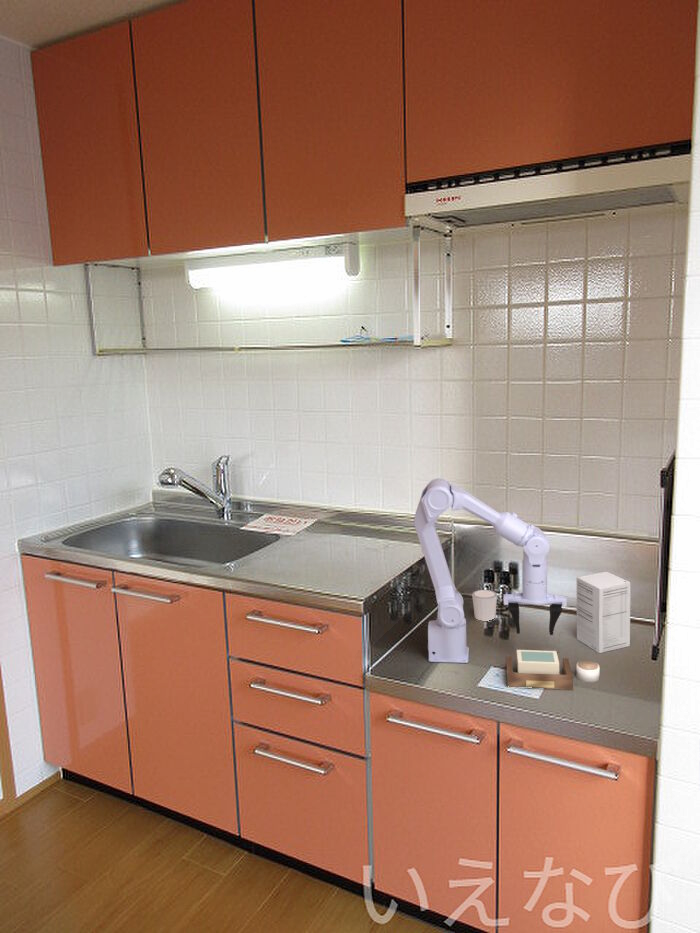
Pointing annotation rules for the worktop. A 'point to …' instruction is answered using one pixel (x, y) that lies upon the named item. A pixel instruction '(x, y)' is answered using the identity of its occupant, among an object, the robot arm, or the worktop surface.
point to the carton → (537, 662)
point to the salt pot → (588, 671)
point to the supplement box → (603, 611)
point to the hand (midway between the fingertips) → (534, 632)
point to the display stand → (540, 678)
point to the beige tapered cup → (484, 604)
